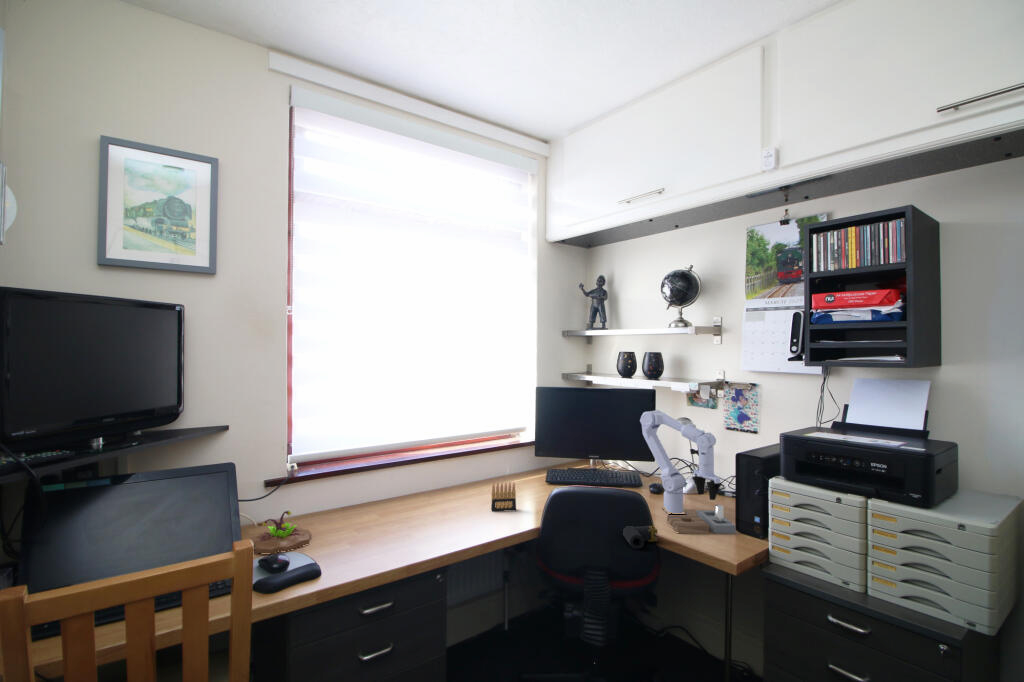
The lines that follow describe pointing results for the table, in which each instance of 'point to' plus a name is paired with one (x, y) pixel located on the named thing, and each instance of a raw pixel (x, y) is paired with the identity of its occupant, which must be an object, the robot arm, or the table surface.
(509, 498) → the ammunition clip
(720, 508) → the steel peg
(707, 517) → the tool rack
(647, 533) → the pipe connector
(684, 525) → the socket block
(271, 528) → the plant
